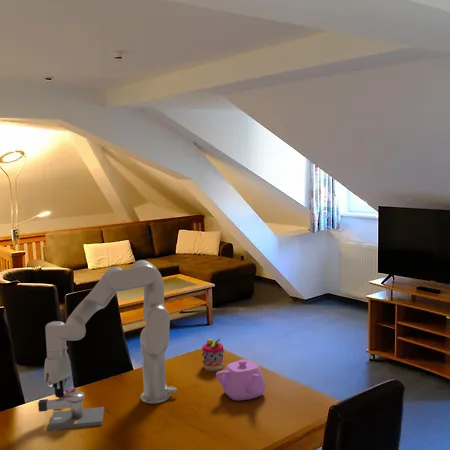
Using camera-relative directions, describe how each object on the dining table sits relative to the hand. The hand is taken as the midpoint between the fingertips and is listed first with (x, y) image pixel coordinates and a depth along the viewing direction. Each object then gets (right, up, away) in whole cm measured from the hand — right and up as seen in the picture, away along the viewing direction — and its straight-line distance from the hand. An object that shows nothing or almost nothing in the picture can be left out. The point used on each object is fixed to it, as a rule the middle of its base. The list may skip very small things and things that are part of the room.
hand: (59, 396), depth 204 cm
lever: (+3, -7, -5) cm, 9 cm away
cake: (+61, -1, +45) cm, 76 cm away
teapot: (+75, -4, +14) cm, 77 cm away
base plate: (+8, -8, -4) cm, 12 cm away
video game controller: (-1, -7, +13) cm, 15 cm away
